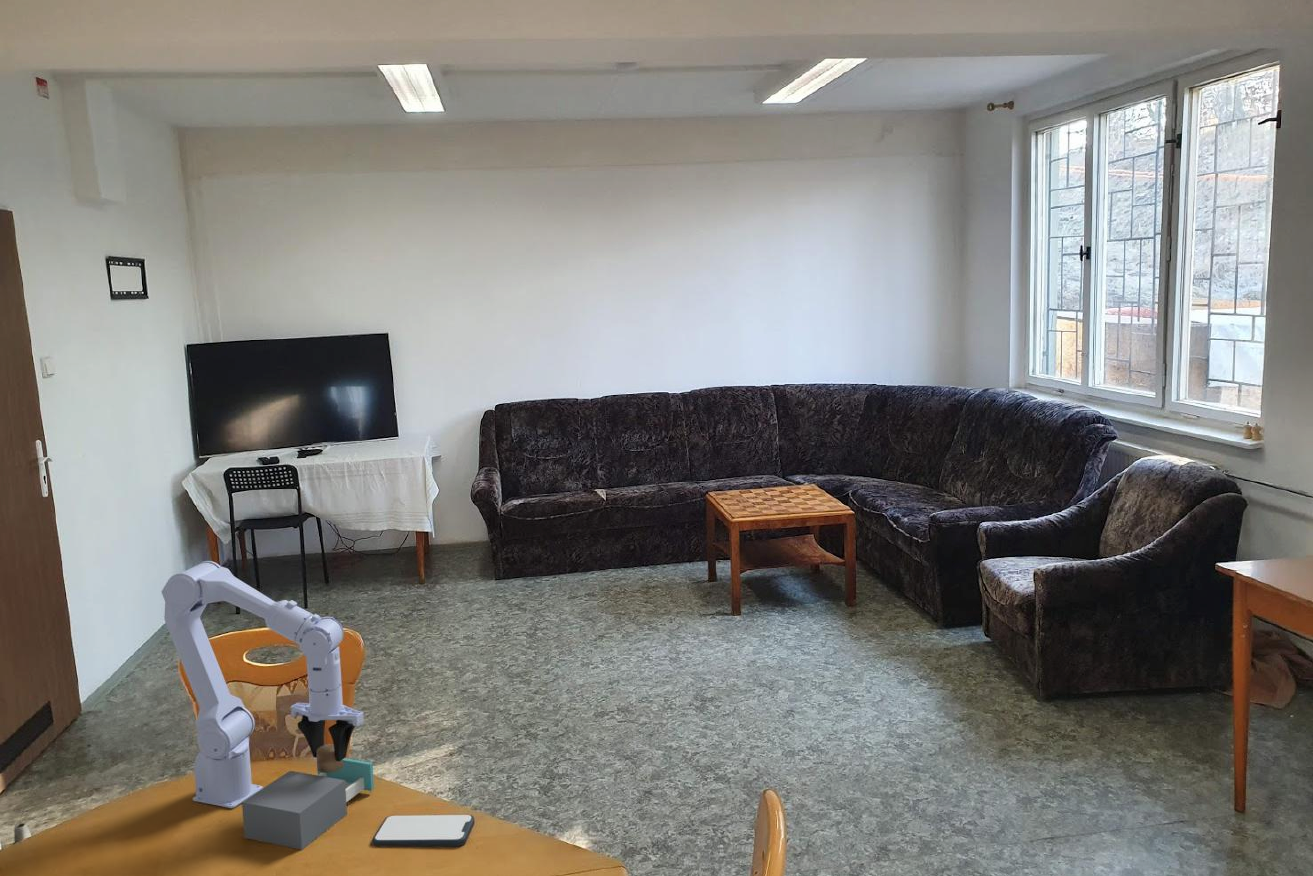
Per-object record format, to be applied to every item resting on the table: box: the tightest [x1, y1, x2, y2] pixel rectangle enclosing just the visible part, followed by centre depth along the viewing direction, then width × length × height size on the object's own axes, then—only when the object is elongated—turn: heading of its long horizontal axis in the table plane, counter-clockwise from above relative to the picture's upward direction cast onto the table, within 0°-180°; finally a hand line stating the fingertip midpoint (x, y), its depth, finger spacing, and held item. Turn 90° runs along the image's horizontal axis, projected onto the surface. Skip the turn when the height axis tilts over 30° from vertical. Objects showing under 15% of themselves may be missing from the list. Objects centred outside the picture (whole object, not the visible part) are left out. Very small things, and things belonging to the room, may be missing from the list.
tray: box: [316, 757, 375, 803], centre depth 177 cm, size 12×12×5 cm
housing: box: [241, 770, 348, 851], centre depth 169 cm, size 12×12×6 cm
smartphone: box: [371, 814, 476, 848], centre depth 167 cm, size 9×2×16 cm
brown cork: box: [316, 743, 343, 773], centre depth 178 cm, size 4×4×4 cm
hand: (329, 757), depth 178 cm, fingers closed on brown cork, 4 cm apart
